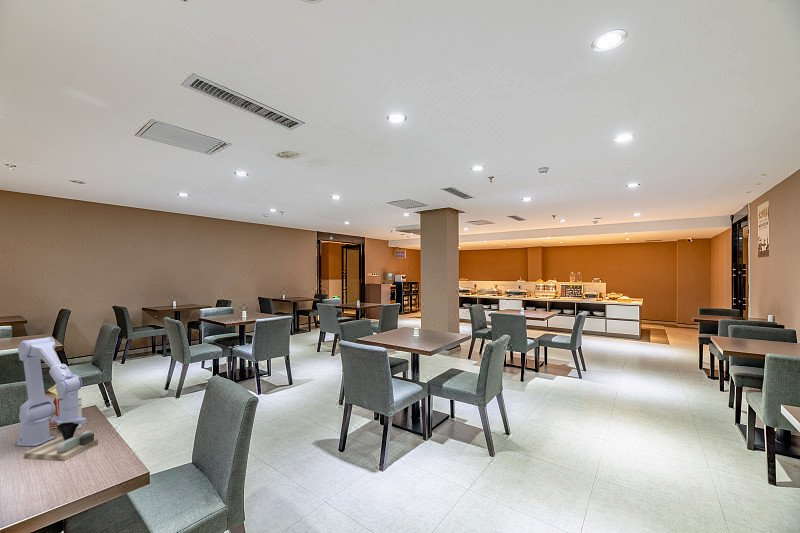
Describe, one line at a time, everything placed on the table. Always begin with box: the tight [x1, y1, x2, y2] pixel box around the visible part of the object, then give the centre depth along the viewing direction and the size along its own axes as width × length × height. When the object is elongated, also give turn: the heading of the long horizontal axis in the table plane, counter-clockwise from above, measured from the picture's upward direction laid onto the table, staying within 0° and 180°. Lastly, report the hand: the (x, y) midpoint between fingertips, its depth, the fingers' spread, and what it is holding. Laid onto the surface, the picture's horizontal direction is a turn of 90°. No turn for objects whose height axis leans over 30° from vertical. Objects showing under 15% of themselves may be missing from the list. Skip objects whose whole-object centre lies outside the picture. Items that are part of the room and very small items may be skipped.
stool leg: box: [57, 430, 93, 453], centre depth 145 cm, size 13×2×3 cm, turn 174°
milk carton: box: [41, 383, 59, 430], centre depth 169 cm, size 9×9×20 cm
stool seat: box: [23, 433, 99, 462], centre depth 145 cm, size 18×14×5 cm
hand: (68, 440), depth 148 cm, fingers closed
